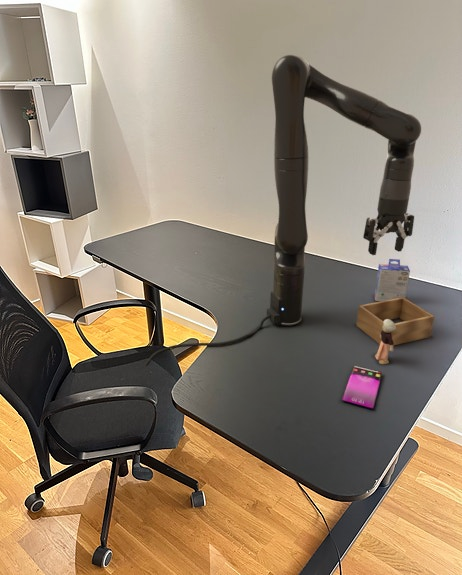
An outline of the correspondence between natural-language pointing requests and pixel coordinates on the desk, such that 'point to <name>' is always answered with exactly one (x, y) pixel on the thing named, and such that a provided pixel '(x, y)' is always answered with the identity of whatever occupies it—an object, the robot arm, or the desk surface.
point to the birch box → (412, 315)
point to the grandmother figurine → (385, 342)
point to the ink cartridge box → (391, 281)
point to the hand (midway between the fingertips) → (385, 252)
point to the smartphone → (362, 387)
